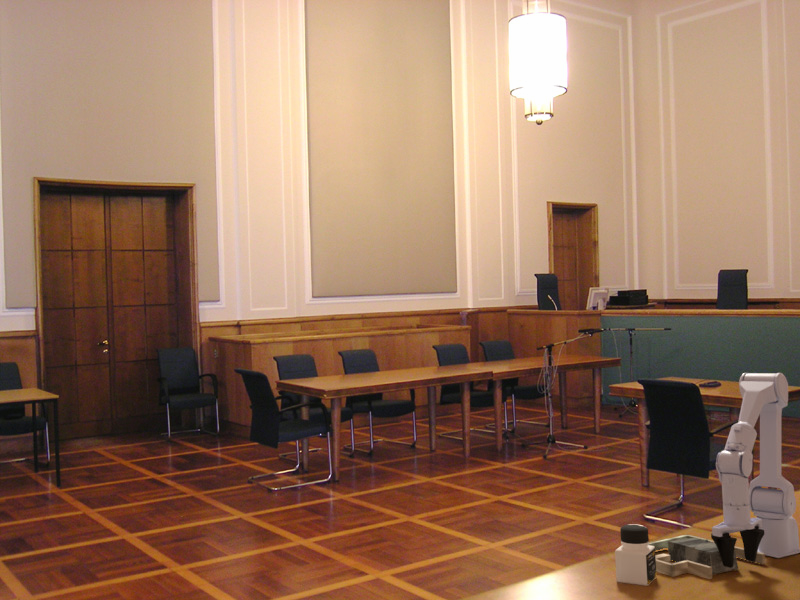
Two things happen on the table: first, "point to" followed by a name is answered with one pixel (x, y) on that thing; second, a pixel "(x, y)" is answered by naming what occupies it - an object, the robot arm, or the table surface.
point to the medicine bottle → (635, 556)
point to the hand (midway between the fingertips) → (739, 563)
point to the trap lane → (688, 566)
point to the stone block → (699, 554)
